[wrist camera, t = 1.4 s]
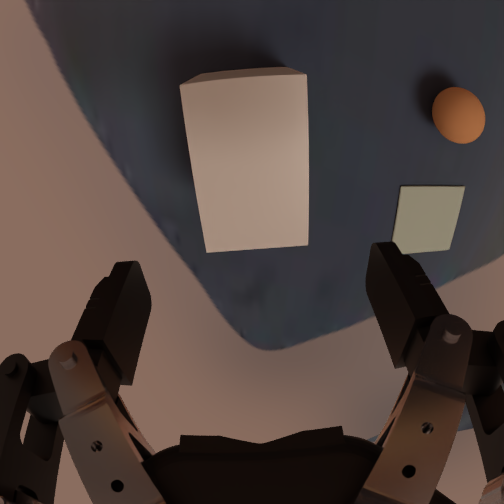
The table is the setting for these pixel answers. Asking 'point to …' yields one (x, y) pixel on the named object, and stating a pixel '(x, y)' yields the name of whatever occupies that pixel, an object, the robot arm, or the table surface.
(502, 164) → the table surface
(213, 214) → the tan block
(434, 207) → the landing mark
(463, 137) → the ball
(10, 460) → the robot arm
